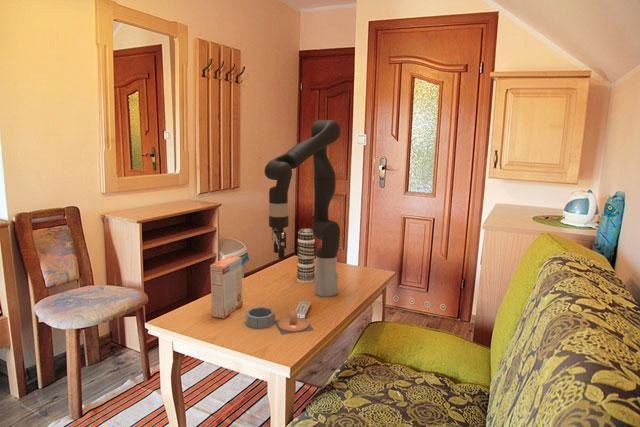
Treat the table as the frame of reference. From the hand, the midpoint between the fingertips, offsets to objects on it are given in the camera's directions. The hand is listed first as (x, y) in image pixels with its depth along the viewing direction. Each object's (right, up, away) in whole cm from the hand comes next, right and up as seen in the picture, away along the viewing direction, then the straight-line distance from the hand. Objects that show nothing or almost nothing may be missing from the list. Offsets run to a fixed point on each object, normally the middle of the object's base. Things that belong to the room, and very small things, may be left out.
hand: (279, 255), depth 167 cm
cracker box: (-21, -23, +4) cm, 31 cm away
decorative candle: (+9, -16, +43) cm, 47 cm away
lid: (+6, -25, -9) cm, 27 cm away
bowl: (-6, -25, -7) cm, 26 cm away
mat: (+6, -25, -9) cm, 27 cm away
